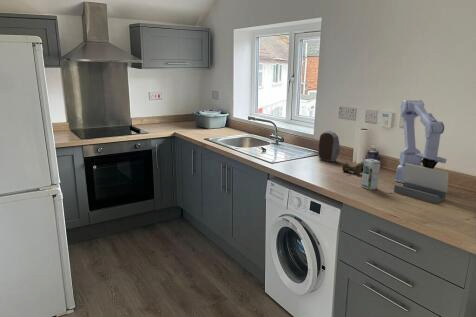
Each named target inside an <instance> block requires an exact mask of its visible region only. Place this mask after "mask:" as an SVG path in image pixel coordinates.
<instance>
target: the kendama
mask: <svg viewBox="0 0 476 317" xmlns="http://www.w3.org/2000/svg"><path fill="white" fill-rule="evenodd" d="M363 168H364V161H360V162H359V163H356V165H352V164H350V163H348V162H344V163H343V164H342V171H343V172H344V171H347V172H352V173H354V174H355V175H356V176H358V174H359V175H360V174H361V171H363V170H362V169H363Z"/></svg>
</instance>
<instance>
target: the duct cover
mask: <svg viewBox="0 0 476 317" xmlns="http://www.w3.org/2000/svg"><path fill="white" fill-rule="evenodd" d="M405 182H408V183H412V184H416V185H420V186H424V187H428V188H432V189H436V190H440V191H444V192H446V193H447V192H448V185H449V172H448V171H443V170H440V169H435V168H434V169H431V168H426V167H423V166H421V165H420V166H416V165H412V164H407V163H405Z"/></svg>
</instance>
